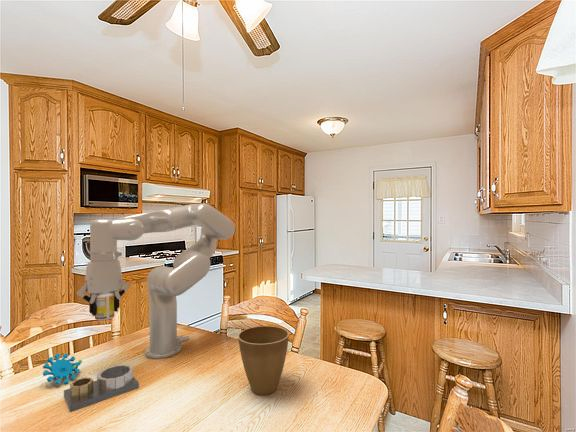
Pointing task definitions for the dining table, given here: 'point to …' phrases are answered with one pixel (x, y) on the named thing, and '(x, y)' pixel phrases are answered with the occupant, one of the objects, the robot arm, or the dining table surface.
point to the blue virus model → (61, 369)
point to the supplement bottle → (104, 306)
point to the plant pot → (263, 356)
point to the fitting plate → (97, 395)
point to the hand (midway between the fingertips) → (104, 312)
